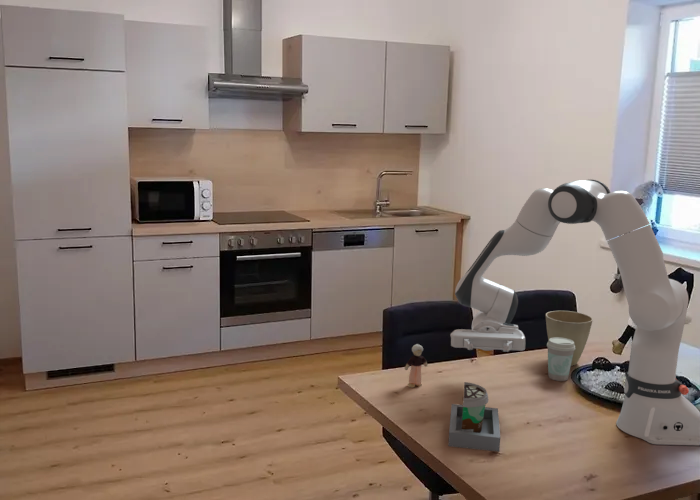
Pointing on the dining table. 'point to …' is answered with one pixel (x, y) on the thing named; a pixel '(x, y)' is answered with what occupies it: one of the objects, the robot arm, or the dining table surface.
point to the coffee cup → (560, 358)
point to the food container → (473, 407)
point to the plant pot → (570, 329)
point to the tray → (482, 440)
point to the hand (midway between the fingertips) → (488, 348)
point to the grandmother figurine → (415, 366)
